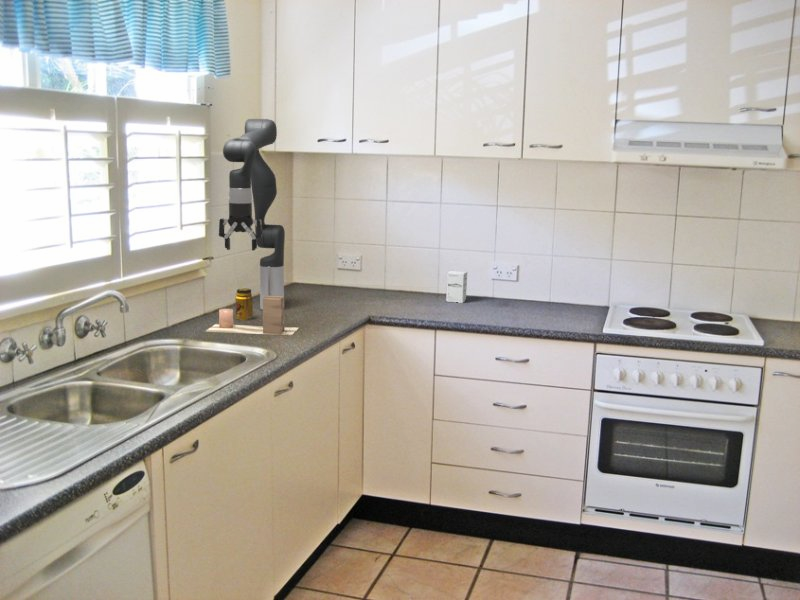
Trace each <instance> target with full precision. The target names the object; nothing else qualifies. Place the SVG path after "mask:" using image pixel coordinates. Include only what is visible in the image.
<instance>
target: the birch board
mask: <svg viewBox="0 0 800 600" xmlns="http://www.w3.org/2000/svg"><path fill="white" fill-rule="evenodd" d="M298 329H299V327H295V326H293V327H291V326H284V331H283V332H282V333H281V334H272V335H276V336H293V335H294V333H295V332H297V330H298ZM205 332H206V333H230V334H232V333H233V334H253V335H264V334H263V325H249V324H248V325H246V324H233V327H232V328H220V327H219V323H214V325H212V326H210V327H209V328H207V329H206V330H205Z"/></svg>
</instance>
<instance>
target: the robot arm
mask: <svg viewBox="0 0 800 600" xmlns="http://www.w3.org/2000/svg"><path fill="white" fill-rule="evenodd" d="M244 123H245V124H244V133H243V134H242V135H240V137H235V138H231V139H228V140H227V141H226V142H225V143H224V146H223V148H222V153H223V157H224V159H226V161H228V162H229V163H243V166H242V167H241V168H237V169H232V170H231V171H229V174H228V175H229V176H228V177H229V178H228V180H229V181H228V182H229V184H228V185H229V191H228V218H224V217H223V218H220V219H218V221H219V224H218V236H219V237H221V238H223V239H224V248H225V249H226V250H227V251H231V238H230V236H232V234H233V233H234V232H235V233H240V232H241V233H247V234H248V235H249V236H250V237H251V251H252V252H253V251H256V249H257V248H261V249H274V251H273V252H272V253H271V254H269V255H267V256H263V257H261V258H259V289H260V292H259V301H260V302H259V309H260V310H262V311H263V298H265V297H266V296H284V297H285V288H284V287H285V281H284V280H285V279H284V278H285V277H284V276H285V271H284V270H285V269H284V268H285V266H284V265H285V260H284V259H285V241H286V240H285V237H286V233H285V228H284V226H283V225H282V224H266V222H265V220H266V215H267V213H268V210H269V209H270V207H271V206H272V204H273V203H274V201H275V199H276V197H277V194H278V191H277V180H276V175H275V173H274V172H273V169H272V168H271V167H270V166H269V165H268V163H267V162H266V161H265V160H264V158H263V157H262V155H261V152H260V149H261V148H263V147H267V146H269V145H273V144H274V143H275V142H276V140H277V135H278V131H277V125H276V122H275V121H274V120H272V119H270V118H269V119H268V118H248V119H247V120H246V121H245V122H244ZM252 207H253V208H252ZM253 209H254V219H253ZM227 224H228V225H229V226H230V228H229V229H227V230H228V231H227V232H226V233H225V226H226V225H227ZM253 224H254V230H255V231H254V230H253V228H252V226H253Z"/></svg>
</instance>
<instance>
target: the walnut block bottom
mask: <svg viewBox="0 0 800 600" xmlns="http://www.w3.org/2000/svg"><path fill="white" fill-rule="evenodd" d="M262 326H263V334H262V335H273V334H281V333H282V332H283V331H284V327H285V313H284V314H283V315H282V316H281V317H268V316H263V315H262Z"/></svg>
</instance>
